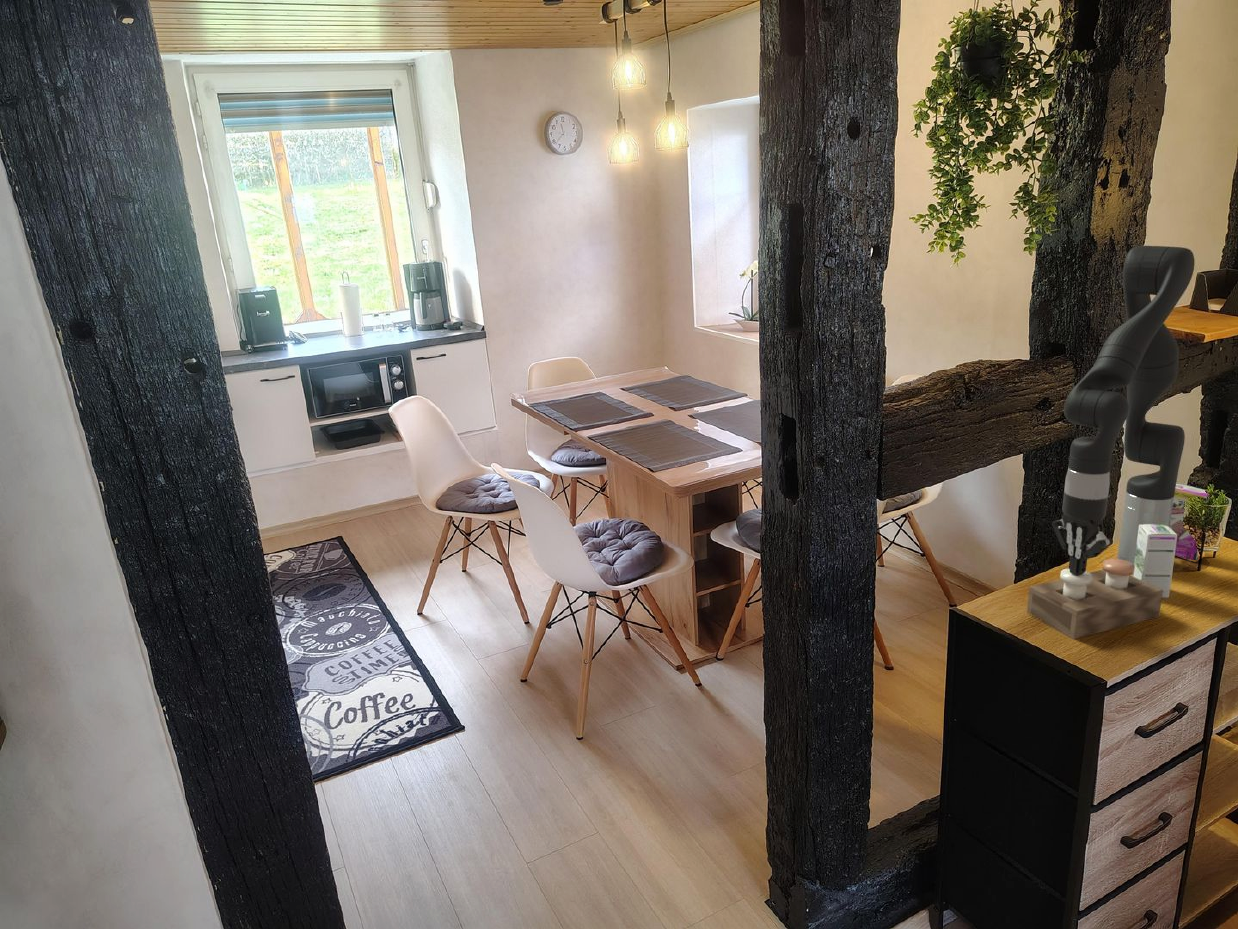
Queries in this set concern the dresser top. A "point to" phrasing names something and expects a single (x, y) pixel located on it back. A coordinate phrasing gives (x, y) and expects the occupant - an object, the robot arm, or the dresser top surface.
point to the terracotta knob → (1117, 573)
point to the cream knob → (1075, 584)
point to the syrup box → (1155, 556)
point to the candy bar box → (1184, 539)
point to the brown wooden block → (1094, 605)
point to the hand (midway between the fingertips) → (1076, 573)
